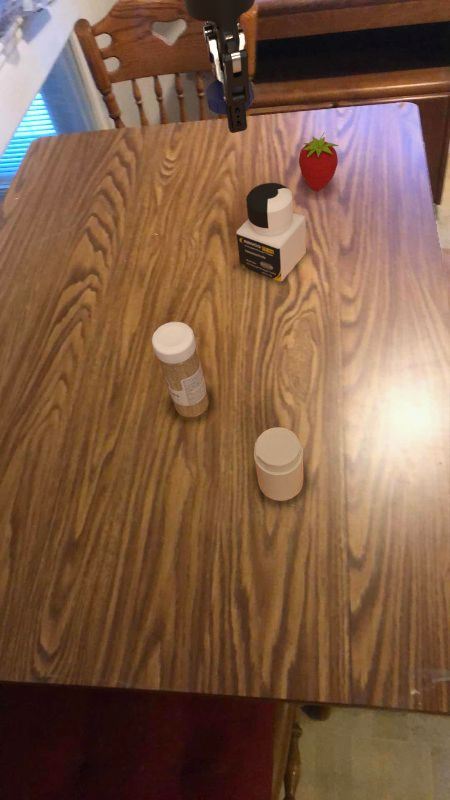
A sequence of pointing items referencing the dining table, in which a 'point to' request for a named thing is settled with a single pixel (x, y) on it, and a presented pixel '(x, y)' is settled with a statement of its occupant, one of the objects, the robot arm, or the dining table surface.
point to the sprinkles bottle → (181, 367)
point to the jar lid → (216, 97)
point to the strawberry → (318, 163)
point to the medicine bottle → (271, 232)
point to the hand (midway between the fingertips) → (232, 116)
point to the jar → (279, 463)
